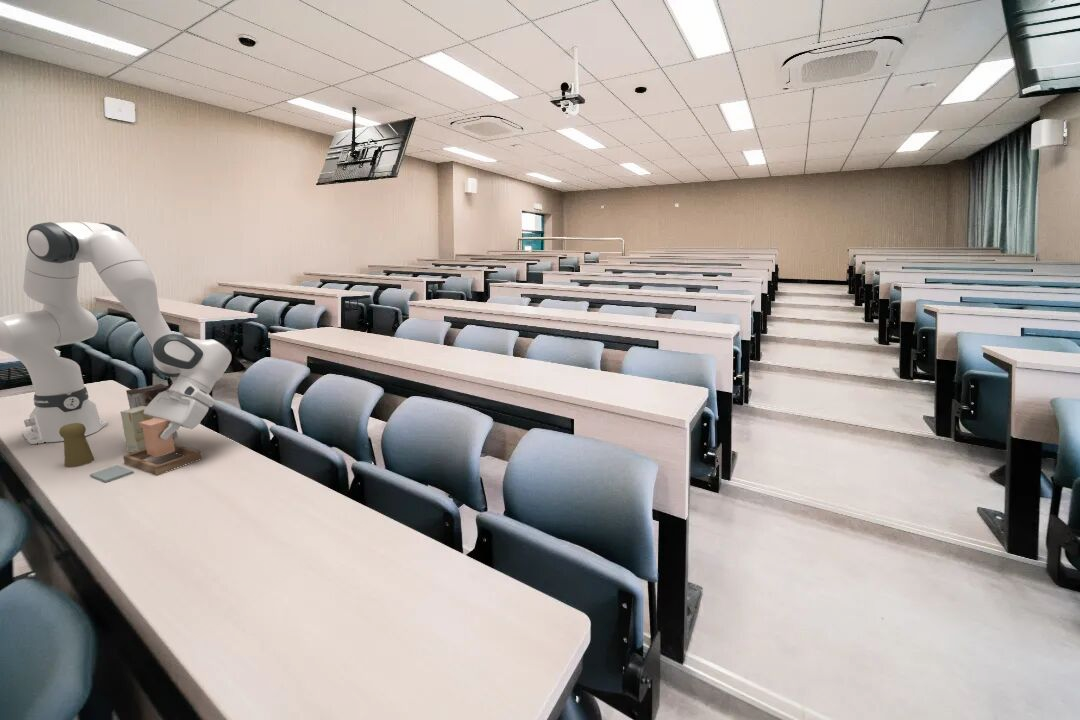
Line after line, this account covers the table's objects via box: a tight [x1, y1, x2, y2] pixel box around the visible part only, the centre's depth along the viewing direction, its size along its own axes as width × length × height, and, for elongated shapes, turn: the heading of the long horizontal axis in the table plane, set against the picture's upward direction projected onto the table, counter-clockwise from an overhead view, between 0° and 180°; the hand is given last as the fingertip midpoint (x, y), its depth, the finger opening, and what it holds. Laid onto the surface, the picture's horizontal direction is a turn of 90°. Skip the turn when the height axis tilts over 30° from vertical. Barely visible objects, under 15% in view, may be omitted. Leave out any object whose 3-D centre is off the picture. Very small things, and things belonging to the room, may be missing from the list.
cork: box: [59, 423, 95, 468], centre depth 135 cm, size 6×6×11 cm
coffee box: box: [126, 383, 178, 438], centre depth 151 cm, size 9×6×16 cm
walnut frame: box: [123, 443, 203, 476], centre depth 136 cm, size 16×11×2 cm
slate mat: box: [89, 464, 135, 483], centre depth 129 cm, size 8×6×1 cm
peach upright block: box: [139, 418, 175, 458], centre depth 135 cm, size 5×5×9 cm
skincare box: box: [120, 406, 152, 453], centre depth 144 cm, size 6×4×12 cm
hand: (155, 436), depth 134 cm, fingers closed on peach upright block, 5 cm apart
